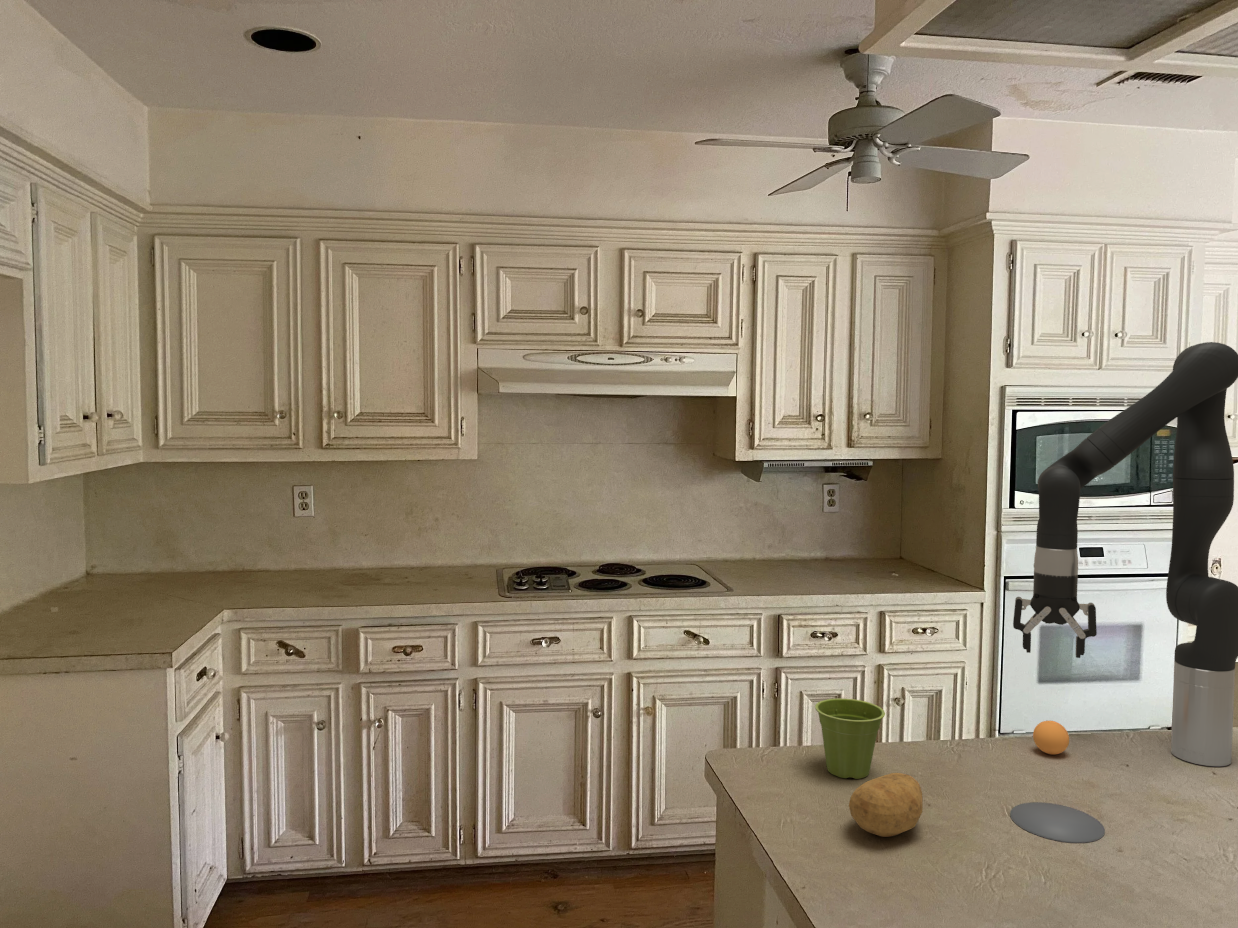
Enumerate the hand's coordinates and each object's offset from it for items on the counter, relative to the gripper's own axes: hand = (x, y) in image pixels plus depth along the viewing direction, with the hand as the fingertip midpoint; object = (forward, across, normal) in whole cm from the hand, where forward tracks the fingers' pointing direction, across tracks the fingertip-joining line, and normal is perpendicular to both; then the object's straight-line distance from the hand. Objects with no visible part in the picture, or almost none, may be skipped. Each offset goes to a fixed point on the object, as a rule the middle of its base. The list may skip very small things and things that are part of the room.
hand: (1053, 654), depth 168 cm
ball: (+14, 0, -8) cm, 16 cm away
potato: (+17, -24, -51) cm, 59 cm away
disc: (+17, -1, -38) cm, 41 cm away
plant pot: (+17, -33, -31) cm, 49 cm away
